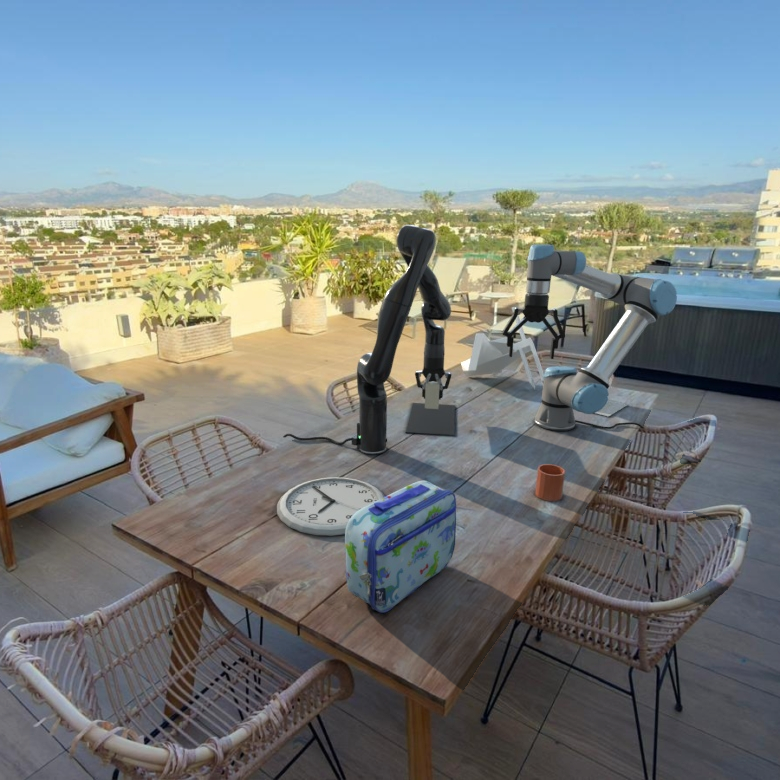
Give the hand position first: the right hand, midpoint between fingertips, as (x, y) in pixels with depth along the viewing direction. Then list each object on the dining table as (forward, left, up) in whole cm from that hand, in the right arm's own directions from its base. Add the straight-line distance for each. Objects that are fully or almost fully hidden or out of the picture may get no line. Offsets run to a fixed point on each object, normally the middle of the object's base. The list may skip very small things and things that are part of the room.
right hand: (530, 357), depth 176 cm
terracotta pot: (-3, +37, -32) cm, 49 cm away
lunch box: (+35, +82, -32) cm, 95 cm away
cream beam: (+33, -20, -23) cm, 45 cm away
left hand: (+33, -12, -20) cm, 41 cm away
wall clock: (+57, +52, -32) cm, 83 cm away
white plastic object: (+2, -76, -32) cm, 82 cm away
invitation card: (-39, -47, -32) cm, 69 cm away
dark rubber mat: (+33, -20, -32) cm, 50 cm away
